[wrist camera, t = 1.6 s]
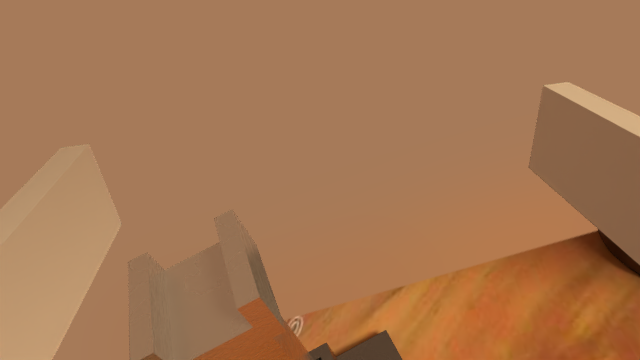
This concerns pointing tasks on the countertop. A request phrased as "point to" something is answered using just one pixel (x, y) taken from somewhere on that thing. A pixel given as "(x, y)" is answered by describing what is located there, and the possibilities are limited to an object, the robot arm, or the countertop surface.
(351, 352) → the stand
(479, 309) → the countertop surface
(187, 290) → the column
